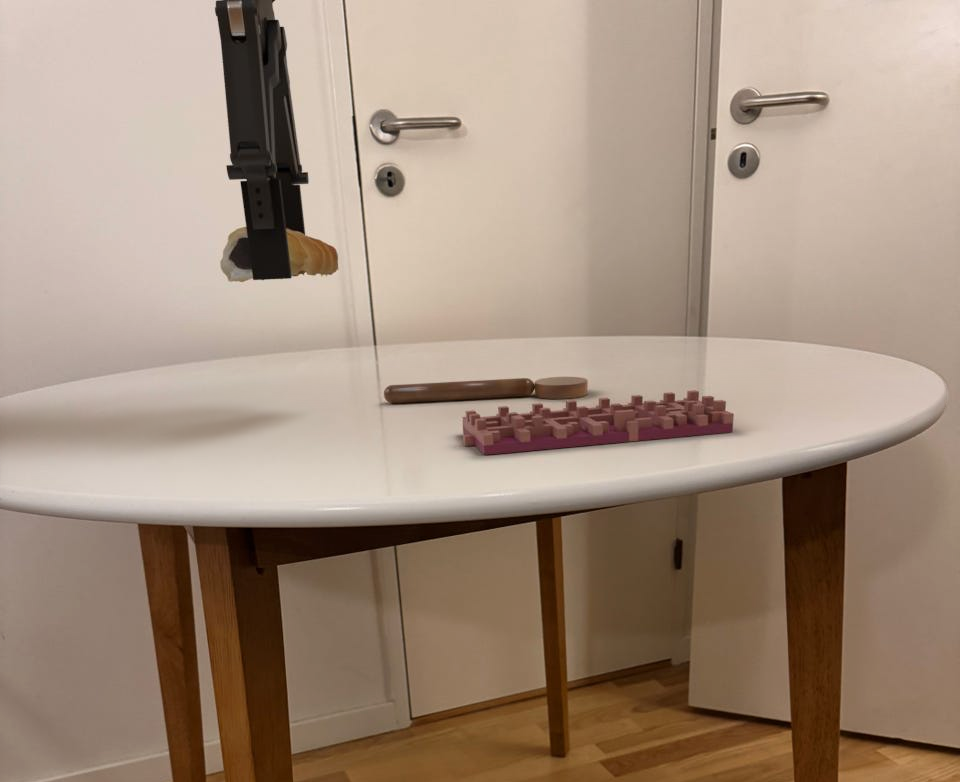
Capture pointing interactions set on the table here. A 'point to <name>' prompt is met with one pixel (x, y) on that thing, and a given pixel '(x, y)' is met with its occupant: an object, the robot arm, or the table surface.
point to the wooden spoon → (488, 389)
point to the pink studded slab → (596, 423)
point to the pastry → (302, 255)
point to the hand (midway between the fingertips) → (283, 275)
